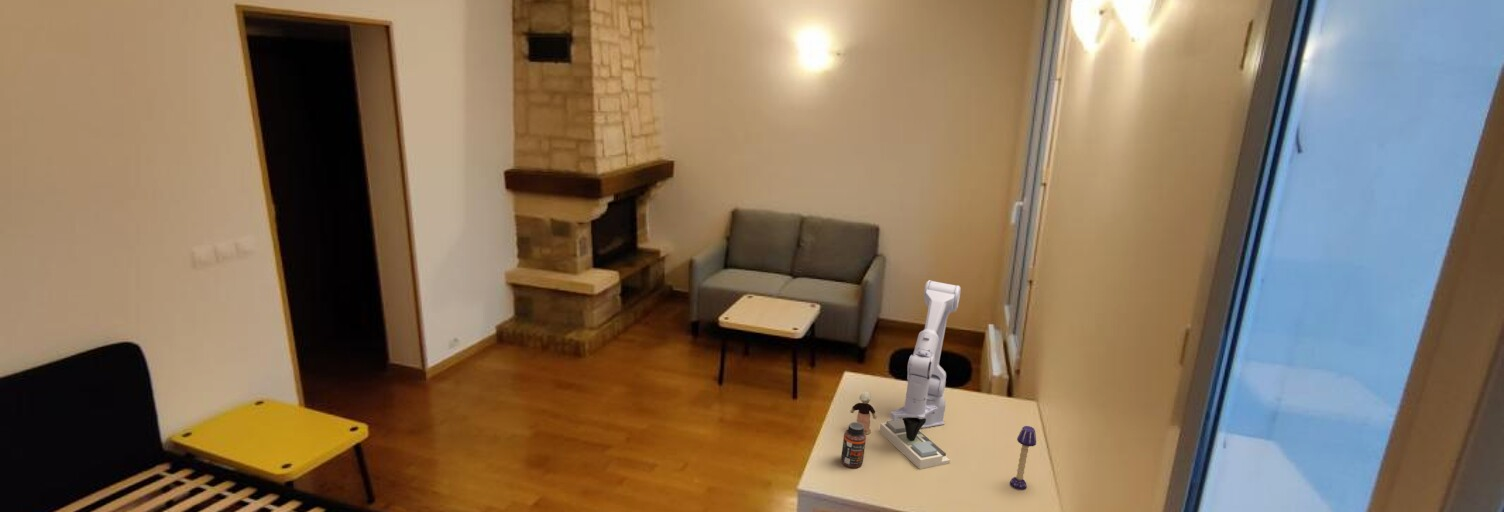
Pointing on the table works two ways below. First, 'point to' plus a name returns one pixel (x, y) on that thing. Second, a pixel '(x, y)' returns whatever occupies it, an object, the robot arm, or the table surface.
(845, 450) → the supplement bottle
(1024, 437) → the toy lamp
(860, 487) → the table surface
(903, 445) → the keypad
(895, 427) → the grey key
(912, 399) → the robot arm
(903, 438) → the sage key
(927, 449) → the slate key
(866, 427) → the grandmother figurine
